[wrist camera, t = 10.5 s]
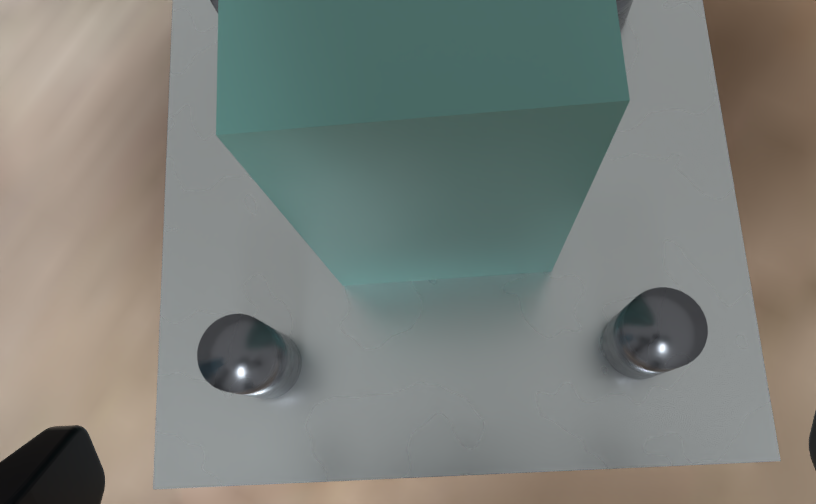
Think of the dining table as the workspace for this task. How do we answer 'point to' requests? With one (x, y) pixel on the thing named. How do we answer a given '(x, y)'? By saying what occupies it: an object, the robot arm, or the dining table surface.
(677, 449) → the plate
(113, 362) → the dining table surface
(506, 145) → the module box
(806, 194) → the dining table surface
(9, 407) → the dining table surface
